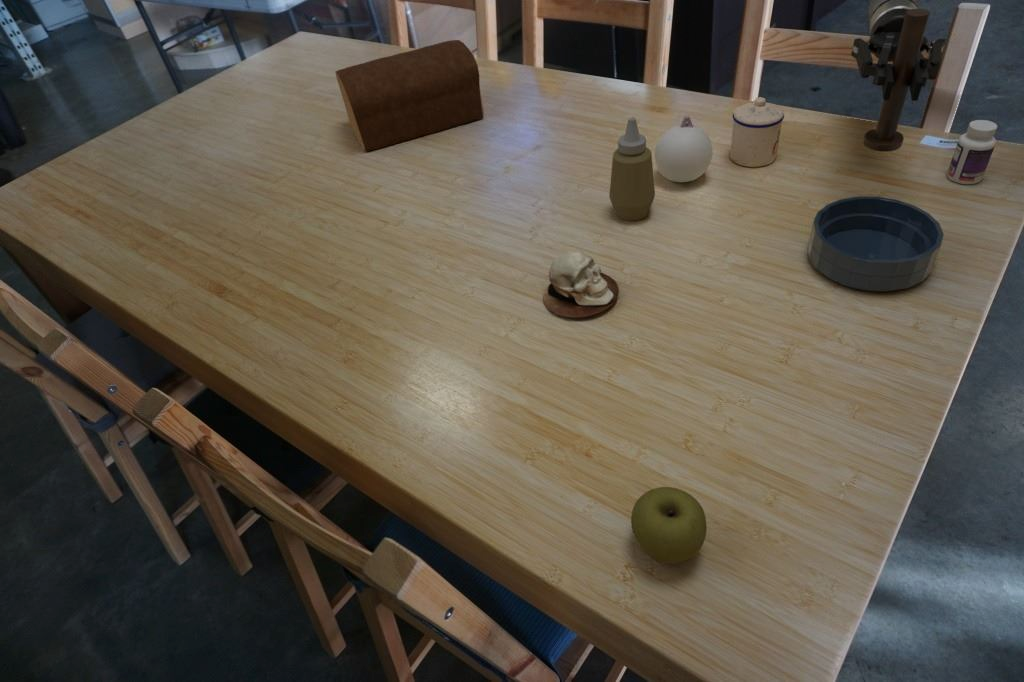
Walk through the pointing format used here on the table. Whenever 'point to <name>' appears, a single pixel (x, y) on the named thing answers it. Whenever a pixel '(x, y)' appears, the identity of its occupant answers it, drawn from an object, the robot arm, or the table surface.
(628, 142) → the squeeze bottle
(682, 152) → the ornament
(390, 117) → the bread
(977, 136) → the pill bottle
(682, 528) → the apple
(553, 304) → the skull
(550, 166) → the table surface
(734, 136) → the teacup with lid
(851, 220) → the bowl
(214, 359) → the table surface
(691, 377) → the table surface
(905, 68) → the stirrer
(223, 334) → the table surface
